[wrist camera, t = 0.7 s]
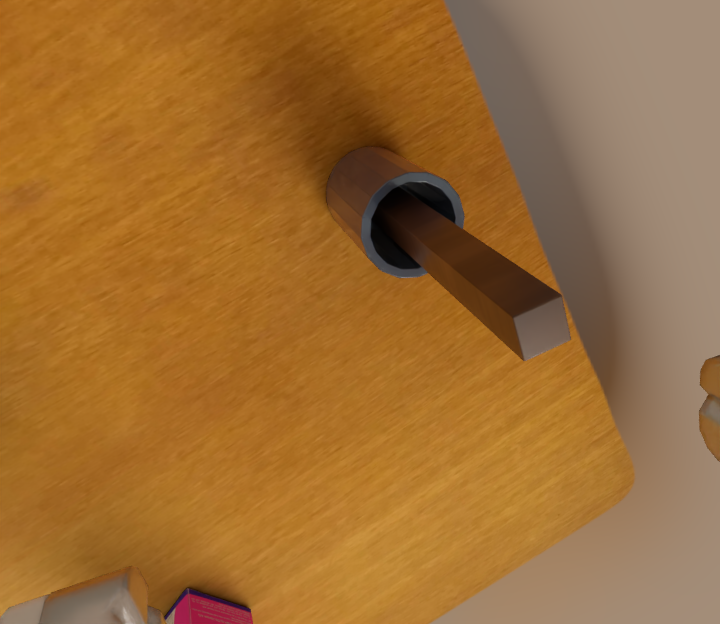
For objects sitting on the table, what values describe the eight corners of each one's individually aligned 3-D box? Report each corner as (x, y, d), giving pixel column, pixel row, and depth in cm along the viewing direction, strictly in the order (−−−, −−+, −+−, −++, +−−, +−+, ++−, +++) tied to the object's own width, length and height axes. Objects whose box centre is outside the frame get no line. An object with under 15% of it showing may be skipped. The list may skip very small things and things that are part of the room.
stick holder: (312, 167, 38) (346, 198, 31) (396, 132, 38) (448, 155, 31) (343, 248, 40) (381, 294, 33) (421, 214, 41) (475, 252, 34)
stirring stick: (353, 185, 38) (512, 317, 21) (380, 173, 38) (562, 294, 21) (362, 212, 39) (524, 362, 21) (389, 201, 39) (571, 340, 22)
